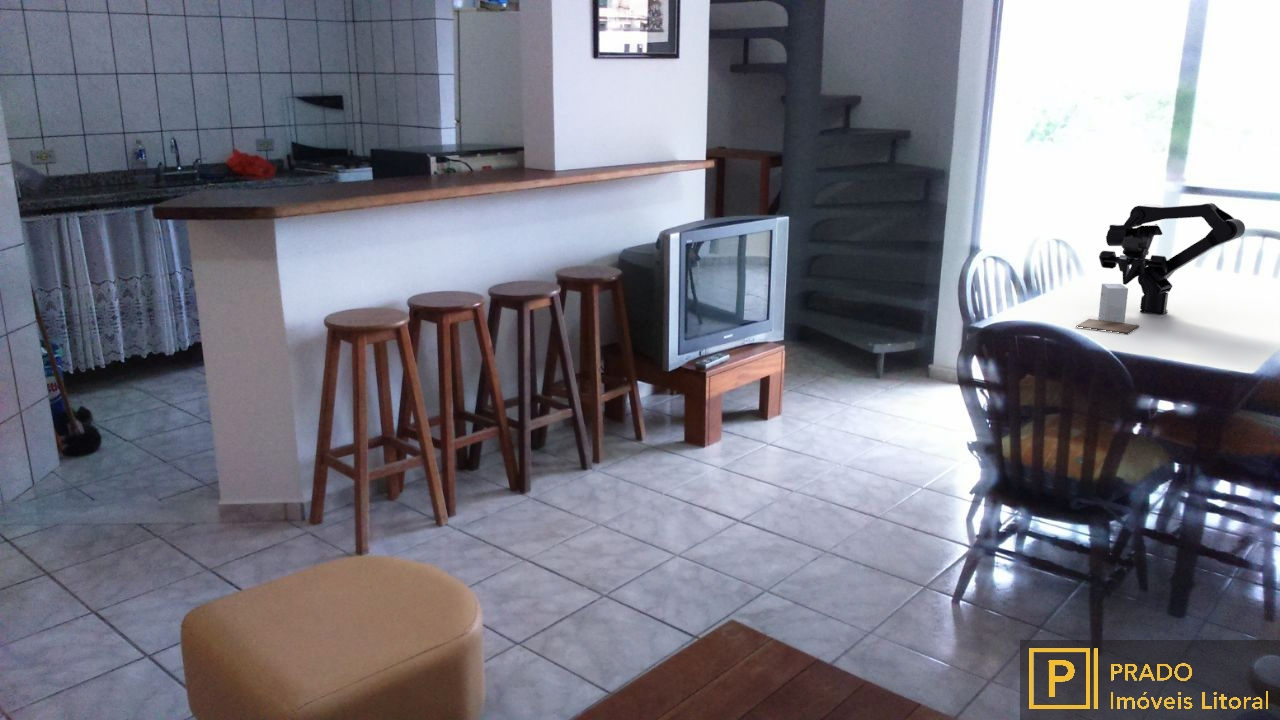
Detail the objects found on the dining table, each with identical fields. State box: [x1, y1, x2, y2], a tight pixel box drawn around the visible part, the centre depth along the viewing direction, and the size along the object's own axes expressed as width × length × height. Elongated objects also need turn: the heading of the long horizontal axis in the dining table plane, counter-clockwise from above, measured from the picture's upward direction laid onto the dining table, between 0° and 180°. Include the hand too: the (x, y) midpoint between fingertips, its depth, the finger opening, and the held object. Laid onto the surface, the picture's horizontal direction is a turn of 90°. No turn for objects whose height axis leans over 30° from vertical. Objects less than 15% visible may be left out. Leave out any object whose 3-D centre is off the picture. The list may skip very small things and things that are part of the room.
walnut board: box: [1075, 318, 1140, 335], centre depth 289 cm, size 14×12×1 cm
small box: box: [1098, 283, 1129, 323], centre depth 297 cm, size 8×6×10 cm
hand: (1124, 283), depth 301 cm, fingers closed
